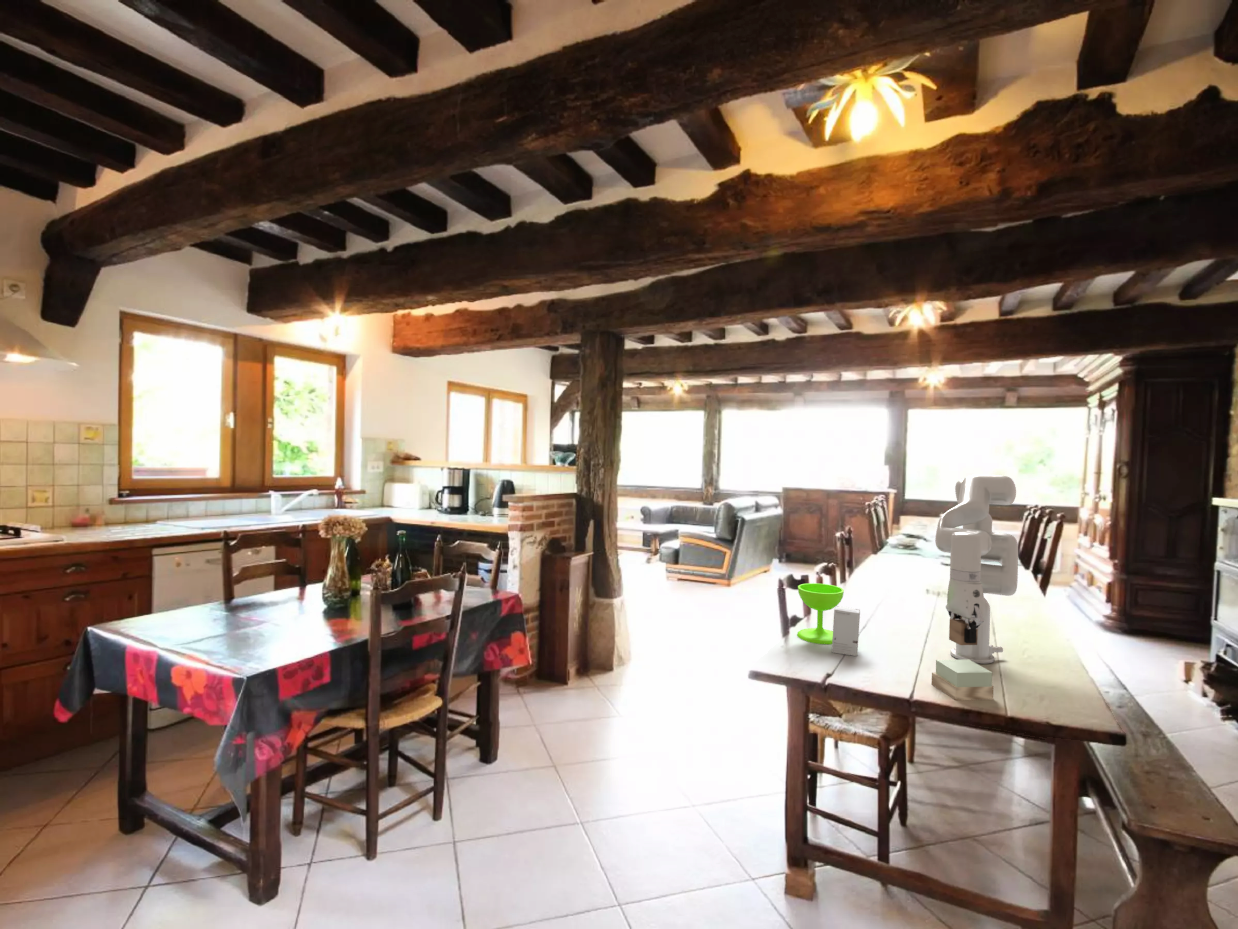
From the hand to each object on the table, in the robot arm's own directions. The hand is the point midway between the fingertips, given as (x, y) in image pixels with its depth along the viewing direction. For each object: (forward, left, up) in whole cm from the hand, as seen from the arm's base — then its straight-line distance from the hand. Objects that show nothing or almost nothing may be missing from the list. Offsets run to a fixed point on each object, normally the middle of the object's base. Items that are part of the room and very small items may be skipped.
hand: (963, 638), depth 170 cm
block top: (0, 0, -12) cm, 12 cm away
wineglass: (+20, -50, -16) cm, 56 cm away
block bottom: (0, 0, -16) cm, 16 cm away
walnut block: (0, 0, -1) cm, 1 cm away
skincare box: (+18, -34, -16) cm, 42 cm away
